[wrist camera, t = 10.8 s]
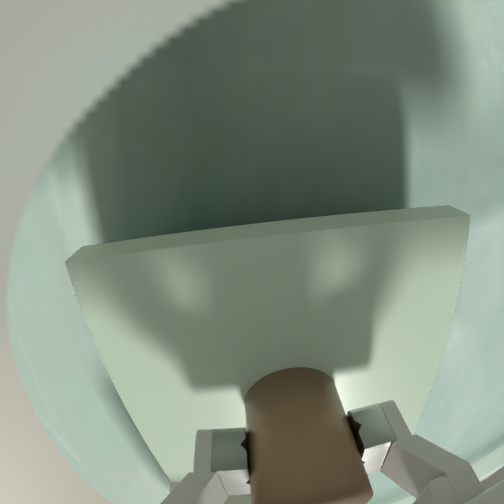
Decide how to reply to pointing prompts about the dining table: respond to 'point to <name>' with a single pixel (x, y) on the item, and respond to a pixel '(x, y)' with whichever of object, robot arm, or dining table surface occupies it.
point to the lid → (276, 336)
